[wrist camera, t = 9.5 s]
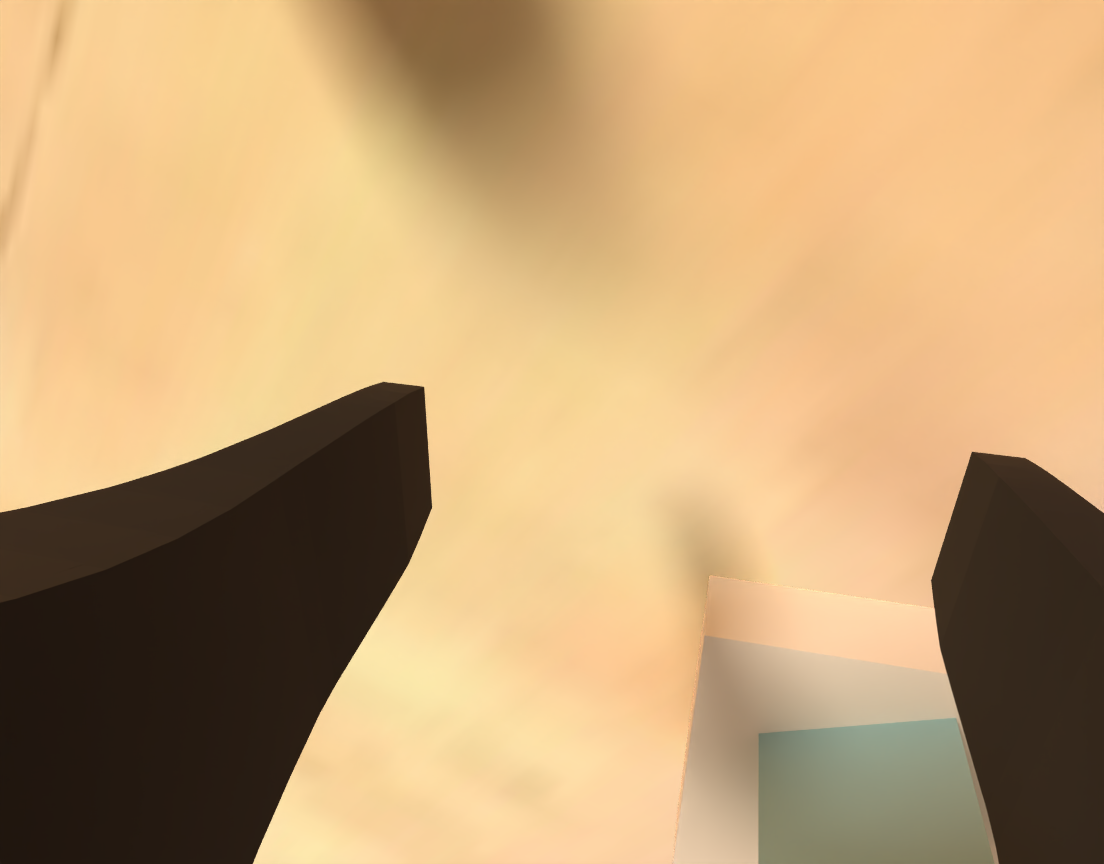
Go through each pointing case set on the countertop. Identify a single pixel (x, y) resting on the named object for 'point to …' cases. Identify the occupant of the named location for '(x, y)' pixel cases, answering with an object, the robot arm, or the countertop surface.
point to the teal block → (869, 796)
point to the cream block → (794, 695)
